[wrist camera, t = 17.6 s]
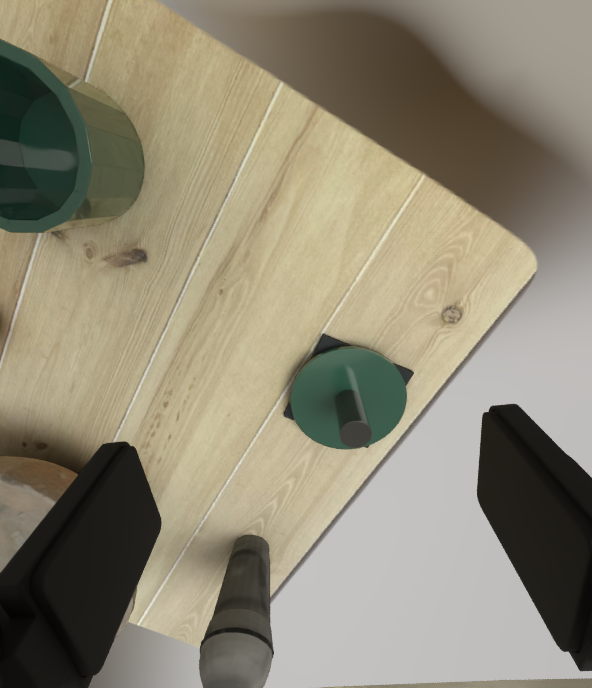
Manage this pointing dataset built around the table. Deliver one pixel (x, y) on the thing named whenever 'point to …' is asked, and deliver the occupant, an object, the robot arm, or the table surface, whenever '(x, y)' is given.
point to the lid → (348, 397)
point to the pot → (61, 149)
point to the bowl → (31, 503)
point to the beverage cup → (240, 622)
